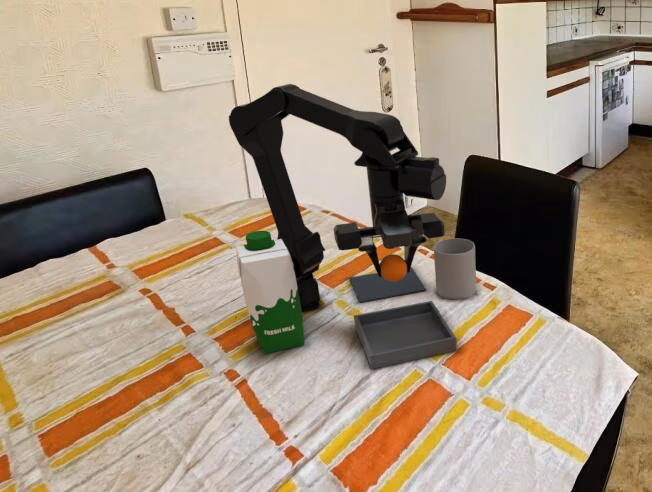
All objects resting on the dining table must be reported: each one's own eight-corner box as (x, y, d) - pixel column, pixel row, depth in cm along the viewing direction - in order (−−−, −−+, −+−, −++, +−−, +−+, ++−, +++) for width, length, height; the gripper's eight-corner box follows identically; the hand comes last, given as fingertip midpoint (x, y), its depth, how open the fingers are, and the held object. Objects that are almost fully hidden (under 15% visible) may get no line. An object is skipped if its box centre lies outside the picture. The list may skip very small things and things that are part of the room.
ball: (383, 288, 112) (381, 262, 110) (378, 276, 116) (375, 252, 114) (410, 283, 114) (408, 258, 111) (404, 272, 118) (402, 248, 115)
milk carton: (300, 324, 119) (282, 226, 110) (310, 346, 112) (292, 243, 103) (252, 335, 116) (228, 234, 106) (259, 359, 108) (235, 253, 99)
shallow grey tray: (371, 369, 106) (370, 356, 104) (355, 327, 118) (353, 315, 117) (456, 350, 111) (456, 337, 110) (432, 312, 123) (431, 300, 122)
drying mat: (359, 303, 127) (359, 301, 126) (349, 279, 136) (349, 277, 136) (426, 290, 131) (426, 289, 131) (411, 268, 141) (411, 267, 141)
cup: (470, 300, 127) (468, 256, 123) (431, 297, 129) (428, 252, 124) (480, 282, 135) (478, 239, 130) (443, 279, 136) (440, 237, 131)
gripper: (337, 214, 97) (349, 302, 105) (452, 200, 103) (455, 284, 111) (328, 193, 106) (339, 275, 114) (433, 181, 112) (438, 260, 120)
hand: (393, 274), depth 114 cm, fingers closed on ball, 5 cm apart
